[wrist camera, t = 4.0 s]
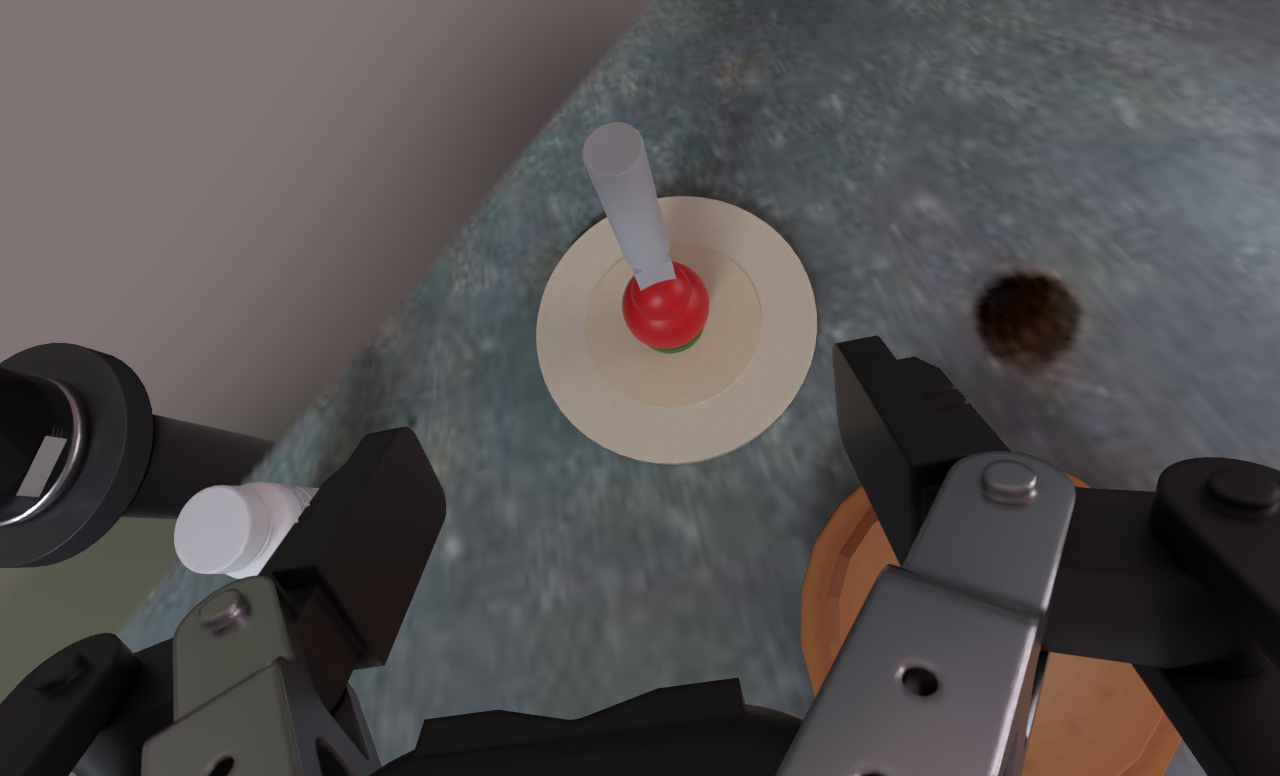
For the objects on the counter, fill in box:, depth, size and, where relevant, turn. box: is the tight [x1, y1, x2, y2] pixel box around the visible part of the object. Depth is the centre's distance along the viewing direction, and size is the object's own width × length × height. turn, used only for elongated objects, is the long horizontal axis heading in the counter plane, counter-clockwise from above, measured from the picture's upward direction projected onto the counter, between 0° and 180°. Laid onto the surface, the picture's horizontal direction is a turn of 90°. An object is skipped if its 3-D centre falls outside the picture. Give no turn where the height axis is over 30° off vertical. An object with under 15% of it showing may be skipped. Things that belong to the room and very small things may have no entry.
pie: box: [800, 473, 1182, 776], centre depth 27 cm, size 15×16×5 cm
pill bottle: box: [174, 482, 319, 579], centre depth 32 cm, size 5×5×8 cm
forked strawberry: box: [582, 122, 709, 354], centre depth 27 cm, size 5×5×16 cm
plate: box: [536, 196, 817, 465], centre depth 35 cm, size 16×16×1 cm
